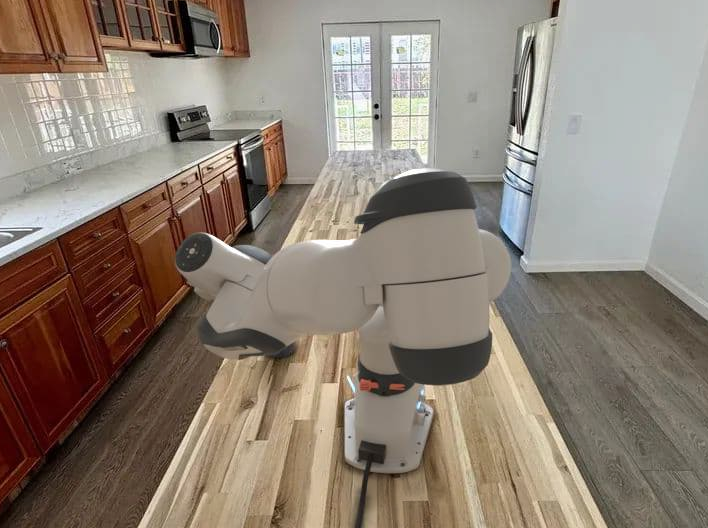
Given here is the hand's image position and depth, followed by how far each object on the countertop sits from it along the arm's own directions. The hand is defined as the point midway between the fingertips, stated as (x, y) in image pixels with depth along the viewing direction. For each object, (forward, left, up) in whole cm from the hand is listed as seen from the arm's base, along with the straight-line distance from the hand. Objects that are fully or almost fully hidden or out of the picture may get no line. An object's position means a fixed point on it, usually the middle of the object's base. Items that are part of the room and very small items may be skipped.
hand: (258, 300), depth 97 cm
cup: (+8, 0, -19) cm, 21 cm away
